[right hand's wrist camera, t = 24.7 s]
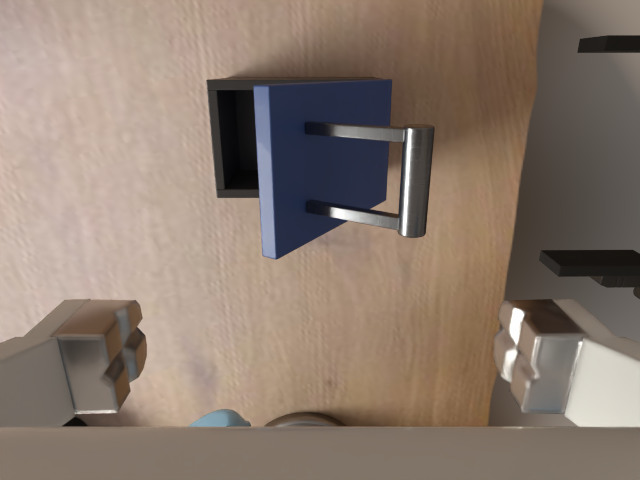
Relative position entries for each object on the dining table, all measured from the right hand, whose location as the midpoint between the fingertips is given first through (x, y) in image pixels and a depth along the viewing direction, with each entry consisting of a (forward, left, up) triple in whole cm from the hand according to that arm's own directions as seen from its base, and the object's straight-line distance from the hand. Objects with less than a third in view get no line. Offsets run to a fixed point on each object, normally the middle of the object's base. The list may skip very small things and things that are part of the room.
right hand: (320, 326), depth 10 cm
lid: (0, +1, -22) cm, 22 cm away
